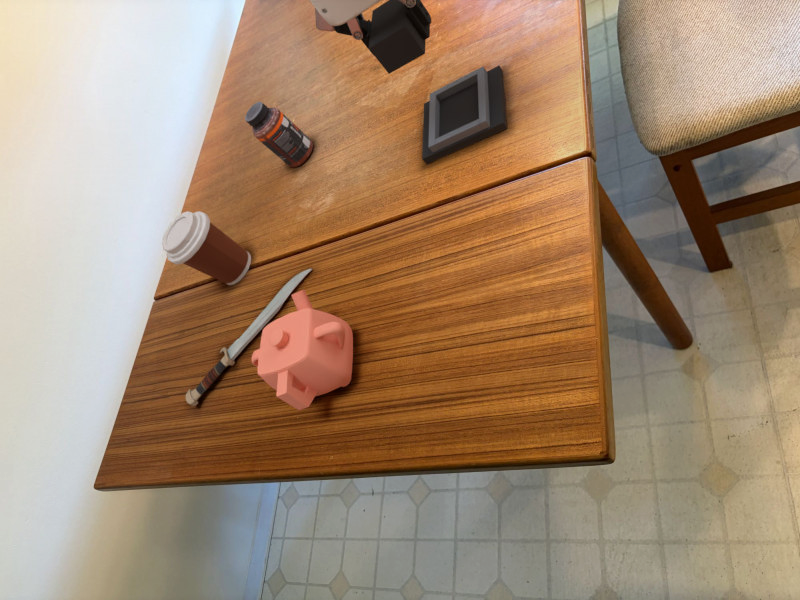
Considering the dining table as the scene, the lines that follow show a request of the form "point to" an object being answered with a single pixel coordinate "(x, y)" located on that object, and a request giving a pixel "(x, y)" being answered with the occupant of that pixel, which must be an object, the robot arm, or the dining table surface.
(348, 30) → the robot arm
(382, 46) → the black block
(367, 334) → the dining table surface
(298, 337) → the teapot
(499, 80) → the base pad
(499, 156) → the dining table surface
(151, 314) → the dining table surface
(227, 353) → the knife
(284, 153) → the supplement bottle
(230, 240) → the coffee cup
